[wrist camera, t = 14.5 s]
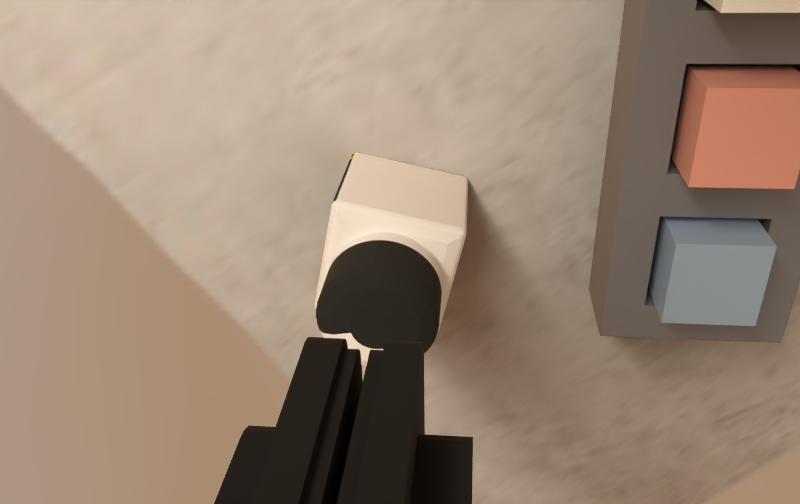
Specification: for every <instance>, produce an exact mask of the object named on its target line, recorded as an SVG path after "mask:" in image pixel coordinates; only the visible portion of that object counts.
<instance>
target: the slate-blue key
mask: <svg viewBox="0 0 800 504" xmlns="http://www.w3.org/2000/svg"><path fill="white" fill-rule="evenodd" d="M776 248H777V246H776V245H775V243H774V242H773V240H772V239H771V238H770V236H769V235H768V233H767V232H766V230H765V229H764V228H763V226H762V225H761V223H760V222H759V221H758V219H754V218H709V217H664V216H661V217H660V223H659V229H658V234H657V240H656V246H655V252H654V258H653V263H652V269H651V275H650V281H649V287H648V288H649V290H650V293H651V296H652V299H653V301H654V304H655V307H656V309H657V312H658V315H659V318H660V320H661V323H682V324H710V325H738V326H756V323H757V319H758V315H759V311H760V308H761V304H762V300H763V296H764V293H765V289H766V285H767V281H768V278H769V274H770V270H771V266H772V263H773V259H774V255H775V251H776Z"/></svg>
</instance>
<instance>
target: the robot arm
mask: <svg viewBox="0 0 800 504" xmlns="http://www.w3.org/2000/svg"><path fill="white" fill-rule="evenodd" d="M472 457H473V437H459V436H439V435H425V430H424V345H423V342H420V341H394V340H386V341H385V343H384V348H383V350H370V352H369V356H368V361H367V366H366V370H365V375H364V380H363V381H362V365H361V353H360V350H359V349H348V345H347V341H346V339H343V338H318V337H308V338H307V339H306V341H305V343H304V346H303V349H302V352H301V355H300V358H299V361H298V364H297V367H296V370H295V372H294V375H293V378H292V381H291V384H290V387H289V390H288V393H287V396H286V399H285V401H284V404H283V408H282V410H281V413H280V416H279V419H278V422H277V425H276V427H263V426H248V427H247V428H246V429H245V430H244V432H243V434H242V436H241V438H240V440H239V443H238V445H237V448H236V450H235V453H234V455H233V458H232V460H231V463H230V465H229V468H228V471H227V473H226V475H225V478H224V480H223V483H222V485H221V488H220V490H219V493H218V496H217V498H216V501H215V503H214V504H472Z"/></svg>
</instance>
